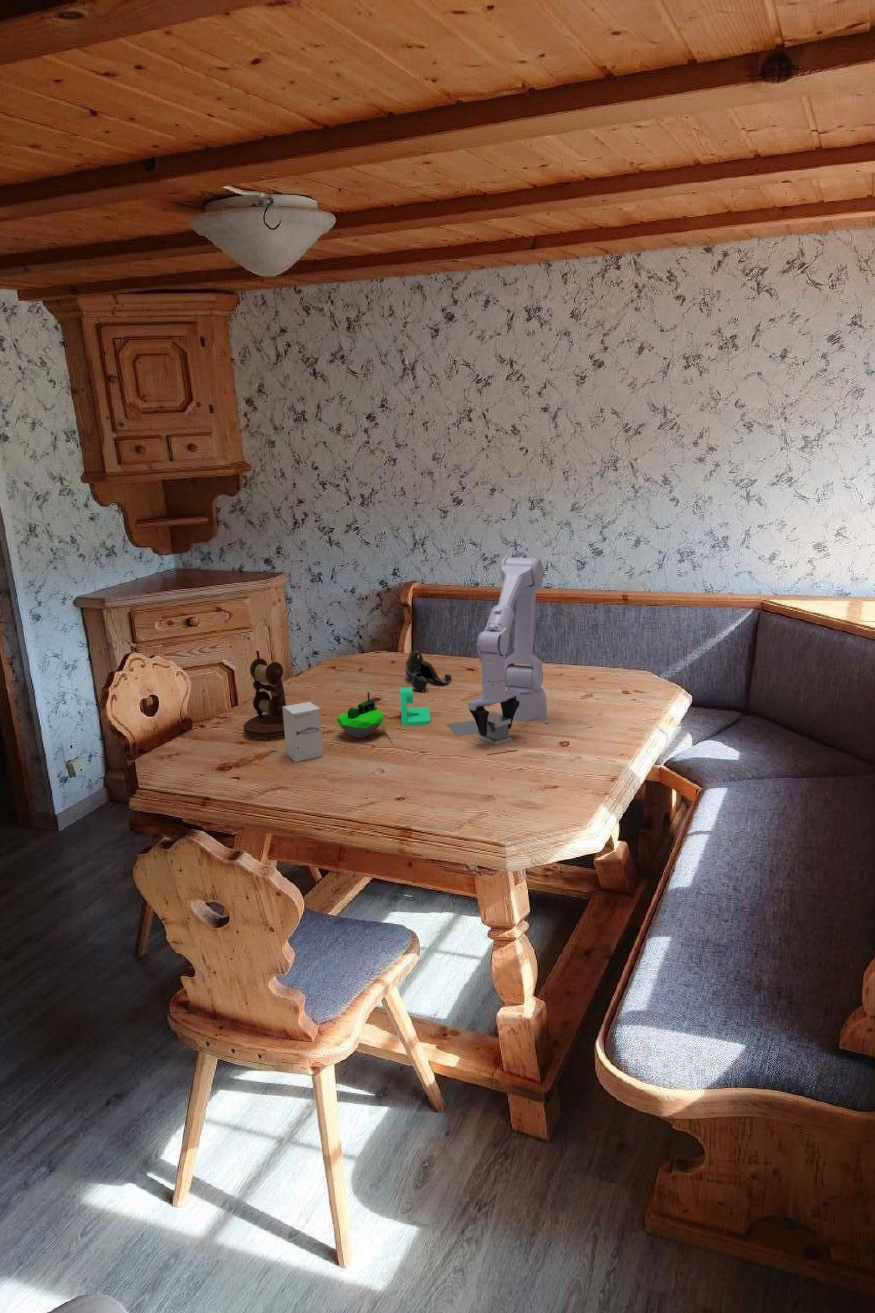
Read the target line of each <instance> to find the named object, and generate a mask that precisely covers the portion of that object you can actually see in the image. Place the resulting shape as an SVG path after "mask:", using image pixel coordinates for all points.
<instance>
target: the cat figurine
mask: <svg viewBox="0 0 875 1313" xmlns="http://www.w3.org/2000/svg"><path fill="white" fill-rule="evenodd" d="M404 673H405V676H406V679H408V681H409V682H410V684H411V687H412V688H414V689H415V690H417V691H420V692H421V694H424V693H426V688H427V685H428V683H429V681H430V682H432V683H433V684H436V685H439V686H448V685H449V684H451V681H452V675H451V674H444V677H443V678H444V680H445V681H443V680H441V678H440V677H439V675H438V673H437V672H436V670H435V668H434V666H433V665H432V663H430V662H429V661H427V660H425V659H424V656H423V654H422V653H421V652H420V651H418V650H417V649H415V650H413V651H411V652H410V653H409V655H408V657H407V660H406V662H405V667H404Z"/></svg>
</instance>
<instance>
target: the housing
mask: <svg viewBox="0 0 875 1313" xmlns="http://www.w3.org/2000/svg"><path fill="white" fill-rule="evenodd" d="M508 724H511V719H510V718H507V717H505V716H503V714H502V715H501V714H499V713H497V712H494V711H493V712H489V715H488V720H487V736H482V735H480V734H479V733H477V736H478V739H479V740H481V741H484V742H486V743H488V744H491V745H493V746H495V747H496V746H499V745H502V744H506V743H509V742H511V739H512V736H509V729H508Z"/></svg>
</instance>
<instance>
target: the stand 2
mask: <svg viewBox="0 0 875 1313" xmlns="http://www.w3.org/2000/svg"><path fill="white" fill-rule="evenodd" d="M474 738H475V739H476V741H478V742H479V744H481V745H482V747H483V748H484V749H485V750H487V751H488V750H493V749H502V748H509V747H515V746H518V744H517V743H516V742H515V741H514V740H513V739H512V738H511V742H509V743H506V744H502V745H499V746H496V747H495V746H493V745H491V744H488V743H486V742H484V741H481V740H479V739H478V735H475V736H474ZM518 751H519V750H518V749H515V750H510V751H509V750H508V751H500V752H494V753H487V754H486V756H490V755H492V756H493V755H498V754H505V753H513V752H518Z"/></svg>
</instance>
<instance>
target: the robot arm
mask: <svg viewBox="0 0 875 1313" xmlns="http://www.w3.org/2000/svg"><path fill="white" fill-rule="evenodd" d="M499 570H500V572H499V573H500V578H501V581H502V586H501V591H500V594H499V599H498V603H497V605H494V606H493V607H492V608H491V611H490V614H489V617H488V620H487V622H486V625H485V628H484V629H483V631H481V632H479V634H478V635H477V640H476V650H477V653H478V659H479V661H480V662H481V685H482V687H481V688H482V692H481V695H480V696H478V697H476V698H473V699H472V700H468V703H467V704H468V705H467V707H468V710H469V712H470V714H471V715H472V717H473V719H474V720H475V721H476V724H477V727H478V730H479V733H478V734H480V735H482V736H487V720H488V715H489V713H490V711H489V710H486V708H485V707H488V706H492V705H496V704H499V705H500V707H501V712H502V713H501V714H502V716H505V717H507V718H510V719H511V724H508V730H511V729H512V725H513V721H518V722H528V721H533V720H537V719H538V720H539V721H541V723H543V724H548V723H549V721H548V720H547V717H548V716H547V714H548V713H547V710H548V709H547V707H548V706H547V694H546V692H545V690H544V688H543V687H542V685H543V682H544V671H543V662H542V660H541V659H540V658H538V657H537V656H536V655H535V654H534V653H533V648H534V647H533V646H534V634H535V632H534V630H535V615H536V614H535V613H536V598H537V597H536V596H537V592H538V591H540V590H541V589H543V588H542V587H543V582H544V581H543V579H544V566H543V561H542V560H541V558H539V557H510V556H505V557H503V559H502V560H501V563H500V569H499ZM515 602H516V606H515V607H516V610H515V611H516V612H515V613H514V611H513V607H514V605H515ZM514 617H515V624H514V625H515V628H514V644H513V645H514V647H513V653H512V654H510V655H509V656H508V657H507V658H506V655H507V652H508V650H509V646H510V645H509V643H510V633H509V632H510V629H511V626H512V623H513V620H514Z"/></svg>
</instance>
